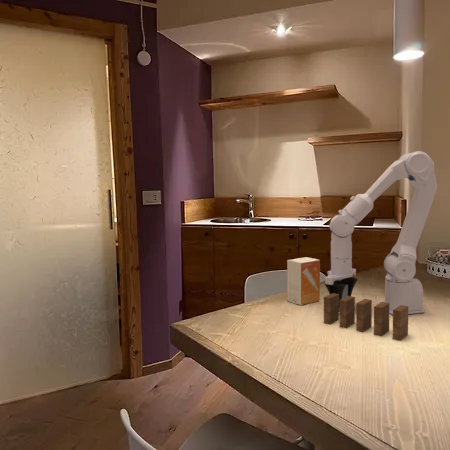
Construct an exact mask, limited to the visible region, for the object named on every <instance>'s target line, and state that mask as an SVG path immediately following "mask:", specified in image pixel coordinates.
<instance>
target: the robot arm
mask: <svg viewBox="0 0 450 450" xmlns="http://www.w3.org/2000/svg"><path fill="white" fill-rule="evenodd" d="M436 177H437V176H436V172H435V162H434V161H433V159H432V158H431V157H430V155H429V154H427V153H426V152H424V151H421V150H418V151H413V152H407V153H404V154H402V155H401V156H400V157H399V158H398V159H397V160H394V161H393V162H392V164H391V165H389V166H388V167H387V168H386V170H385V171H384V172H383V173H382V174H381V175H380V176H379V177H378V178H377V180H376V181H375V182H374V183H373V184H372V185H371V186H370V187H369V188H368V189H367V190H366V191H365V193H357V194H356V195H352V196H351V197H350V198H349V200H350V201H349V202H348V203H347V205H345V206H344V207H343V209H339V210H338V213H339V214H336V215H335V216H333V217H332V218H331V220H330V223H329V224H328V225H329V230H330V231H331V235H330V238H331V240H330V270H328V271H327V272H326V273H327V276H325V281H324V286H325V288H326V289H327V291H328V295H330V294H332V293H335V294H339V307H340V300H341V299H342V294H343V290H344V288H345V286H346V285H348V296H352V294H353V290H354V287H355V285H356V283H357V282H358V278H357V277H354V276H356V275H357V269H356V268H352V267H353V262H352V261H353V260H352V259H353V251H352V250H353V242H352V234H353V232H354V230H355V226H356V225H358V224H359V223H361V221H362V220H363V219H364V218H365V217H366V216H367V215H368V214H369V213H370V212H371V211H372V210H373V209H374V202H375V201H376V200H377V199H378V198H379V197H380V196H381V195H382V194H383V193H384V192H385V191H387V190H388V188H390V187H391V186H392V185H393V184H394V183H395V182H397V181H399V180H403V179H408V181H409V182H410V184H411V185H412V187H413V189H414V192H413V195H412V198H411V200H410V203H409V207H408V209H407V212H406V215H405V218H404V221H403V223H402V227H401V229H400V233H399V236H398V238H397V241H396V243H395V244H394V245H393V247H392V248H391V251H390V253H388V254H387V256H386V257H385V258H384V261H383V267H384V269H385V271H386V272H387V274H386V275H385V277H384V279H385V280H384V284H385V285H384V302H386V303H389V315H392V316H393V310H394V309H395V308H397V307H399V306H400V305H403V306H408V315H411V314H421V313H422V314H423V313H425V310H424V308H423V306H424V305H423V304H424V302H423V301H424V299H423V298H424V289H423V284H422V283H421V281H420V280H419V279H418V278H416V277H415V275H416V272H417V270H416V269H417V268H416V261H417V259H418V258H417V247H418V244H419V242H420V238H421V236H422V234H423V233H422V232H423V230H424V228H425V227H424V226H425V224H426V221H427V219H428V215H429V213H430V210H431V207H432V205H433V201H434V199H435V196H436V193H437V189H438V181H437V178H436ZM414 277H415V278H414Z"/></svg>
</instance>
